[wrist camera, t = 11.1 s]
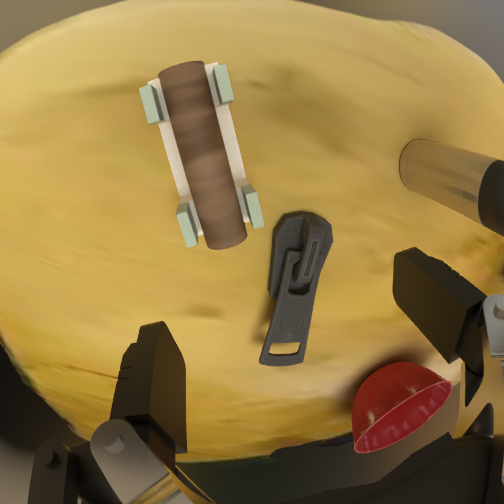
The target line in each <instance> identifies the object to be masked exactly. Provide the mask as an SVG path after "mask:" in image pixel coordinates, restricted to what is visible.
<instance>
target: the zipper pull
mask: <svg viewBox="0 0 504 504" xmlns="http://www.w3.org/2000/svg"><path fill="white" fill-rule="evenodd" d="M332 243H333V236H332V227H331V224H330V223H328V222H327V221H326V220H325V219H323V218H321V217H319V216H318V215H316V214H314V213H309V212H302V211H299V212H294V213H289V214H284V215H283V216H282V218H281V219H280V221H279V222H278V223H277V225H276V226H275V228H274V229H273V239H272V251H271V261H270V271H269V280H268V291H269V293H270V296H271V297H273V298H274V299H276V300H277V301H276V304H275V308H274V311H273V315H272V318H271V322H270V325H269V329H268V332H267V335H266V339H265V342H264V345H263V348H262V352H261V355H260V358H259V363H260V364H262V365H267V366H290V365H295V364H299V363H302V362H303V360H304V355H305V350H306V345H307V339H308V333H309V328H310V322H311V317H312V311H313V305H314V299H315V294H316V289H317V285H318V280H319V276H320V272H321V269H322V267H323V264H324V262H325V260H326V257H327V255H328V252H329V250H330V247H331V245H332ZM290 342H300V345H299V349H298V351H297V352H296V353H291V354H271V353H269V350H270V346H271V345H272V344H273V343H290Z"/></svg>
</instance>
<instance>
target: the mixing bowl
mask: <svg viewBox="0 0 504 504" xmlns="http://www.w3.org/2000/svg"><path fill="white" fill-rule="evenodd" d="M451 391H452V383H451V382H450V381H446V380H445V379H444V378H442V377H441V376H439V375H438V374H436V373H435V372H433V371H431V370H429V369H427V368H425V367H422V366H420V365H417V364H414V363H411V362H396V363H392V364H388V365H385V366H383V367H381V368H379V369H377V370H376V371H375V372H373V373H372V374H371V375H369V376H368V377H367V378H366V379H365V380H364V382H363V383H362V384H361V386H360V388H359V389H358V391H357V393H356V395H355V397H354V401H353V408H352V430H353V438H354V444H355V445H354V450H355V451H356V452H358V453H367V452H372V451H376V450H379V449H382V448H385V447H387V446H389V445H392V444H394V443H396V442H398V441H399V440H401V439H403V438H405V437H406V436H408V435H409V434H411V433H412V432H414V431H415V430H417V429H418V428H419V427H421V426H422V425H423V424H424V423H426V422H427V421H428V420H429V419H430V418H431V417H432V416H433V415H434V414H435V413H436V412H437V411H438V410H439V409H440V408H441V407H442V405H443V404H444V403H445V402H446V400H447V399H448V397H449V395H450V393H451Z"/></svg>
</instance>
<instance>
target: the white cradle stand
mask: <svg viewBox="0 0 504 504" xmlns="http://www.w3.org/2000/svg"><path fill="white" fill-rule="evenodd" d="M204 66H205V70H206V74H207V78H208V82H209V86H210V90H211V94H212V98H213V102H214V106H215V110H216V114H217V118H218V121H219V125H220V129H221V133H222V137H223V141H224V145H225V149H226V153H227V157H228V161H229V165H230V169H231V173H232V176H233V180H234V184H235V188H236V192H237V196H238V200H239V204H240V208H241V212H242V216H243V220H244V223H246V222H249V221H250V222H251V224H252V226H253V228H254V229H256V228H259V227H263V226H264V222H263V218H262V213H261V209H260V204H259V200H258V196H257V192H256V190H255V189H254V188H253V187H252V186H251V184H250V183H249V182H248V181H247V179H246V175H245V170H244V166H243V162H242V158H241V154H240V150H239V146H238V142H237V138H236V134H235V130H234V125H233V121H232V117H231V113H230V109H229V105H228V104H229V103H231V102H232V101H233V100H234V96H233V92H232V88H231V84H230V80H229V76H228V72H227V68H226V64H221V65H218V62H215V63H211V64H207V65H204ZM139 91H140V95H141V98H142V102H143V106H144V110H145V114H146V117H147V121H148V124H159V128H160V131H161V135H162V139H163V142H164V146H165V149H166V153H167V156H168V159H169V163H170V166H171V170H172V173H173V176H174V179H175V183H176V186H177V189H178V192H179V196H180V201H179V205H178V209H177V212H176V216H177V219H178V222H179V225H180V228H181V231H182V234H183V237H184V240H185V243H186V245H187V248H189V247H192V246H196V245H198V236H200V235H203V231H202V228H201V224H200V221H199V218H198V215H197V212H196V208H195V205H194V202H193V199H192V195H191V192H190V189H189V185H188V182H187V178H186V175H185V172H184V168H183V165H182V161H181V158H180V154H179V151H178V147H177V144H176V140H175V137H174V133H173V129H172V126H171V122H170V118H169V115H168V111H167V107H166V103H165V99H164V95H163V92H162V88H161V84H160V80H159V78H157V79H154V80H151V81H148V85H147V86H144V87H141V88H139Z"/></svg>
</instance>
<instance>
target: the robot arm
mask: <svg viewBox="0 0 504 504" xmlns="http://www.w3.org/2000/svg"><path fill="white" fill-rule="evenodd" d="M400 175H401V178H402V181H403V183H404V184H405V186H406V187H407V188H409V189H410V190H412V191H414V192H417V193H419V194H421V195H423V196H425V197H427V198H430V199H432V200H434V201H436V202H438V203H440V204H442V205H444V206H446V207H448V208H451V209H453V210H455V211H457V212H458V213H460V214H462V215H464V216H466V217H468V218H470V219H472V220H474V221H476V222H478V223H480V224H481V225H483V226H485V227H487V228H489V229H491V230H492V231H494V232H496V233H498V234H500V235H502V236H503V237H504V161H502V160H499V159H496V158H493V157H489V156H486V155H482V154H479V153H475V152H472V151H468V150H464V149H460V148H456V147H452V146H448V145H444V144H439V143H435V142H430V141H425V140H420V139H418V140H414V141H411V142H410V143H409V144H408V145H407V146H406V147H405V149H404V150H403V152H402V155H401V158H400ZM393 296H394V299H395V302H396V303H397V305H398V306H399V307H400V308H401V310H402V311H403V312H404V313H405V314H406V315H407V316H408V317H409V318H410V319H411V321H412V322H413V323H414V324H415V325H416V326H417V327H418V328H419V330H420V331H421V332H422V333H423V334H424V335H425V336H426V338H427V339H428V340H429V341H430V342H431V343H432V345H433V346H434V347H435V348H436V349H437V350H438V352H439V353H440V354H441V355H442V356H443V358H444V359H445V360H446V361H447V362H448V364H450V363H452V362H453V361H455V360H456V359H458V358H461V359H462V360H463V362H462V364H461V391H460V411H459V417H458V420H457V423H456V425H455V428H454V432H453V436H452V437H451V435H450V434H449V432H447V433H446V434H444V435H443V436H441V437H439V438H438V439H436V440H435V441H433V442H431V443H430V444H428V445H426V446H425V447H423V448H421V449H419V450H417V451H416V452H414V453H413V454H412V455H410V456H409V457H408V458H407V459H406V460H405V461H403V462H402V463H401V464H400V465H399V466H397V467H396V468H395V469H394V470H392V471H391V472H390V473H388V474H387V475H386V476H385V477H383V478H382V479H381V480H379V481H377V482H375V483H372V484H367V485H360V486H355V487H348V488H341V489H333V490H326V491H323V492H319V493H316V494H313V495H309V496H306V497H302V498H299V499H295V500H291V501H286V502H283V503H280V504H504V295H500V294H495V295H491V296H489V297H487V296H486V295H485V294H484V293H483V292H481V291H480V290H479V289H478V288H477V287H475V286H474V285H473V284H472V283H470V282H469V281H468V280H466V279H465V278H464V277H463V276H460V275H459V273H457V272H456V271H455V270H452V268H451V267H450V266H448V265H447V264H446V263H444V262H443V261H441V260H438V259H436V258H433V257H430V256H427V255H426V254H425V253H423V252H422V251H421V250H419V249H418V248H416V247H412V248H409V249H407V250H404V251H401V252H398V253H396V254H395V256H394V271H393ZM181 453H187V434H186V367H185V362H184V359H183V356H182V353H181V351H180V350H179V348H178V346H177V344H176V342H175V340H174V339H173V337H172V335H171V333H170V331H169V329H168V327H167V325H166V324H165V322H163V321H160V322H155V323H151V324H147V325H143V326H141V327H140V330H139V334H138V339H137V343H132V344H130V346H129V347H128V349H127V350H126V352H125V353H124V355H123V357H122V362H121V366H120V371H119V375H118V381H117V384H116V388H115V393H114V398H113V403H112V408H111V414H110V419H109V420H108V421H106V422H104V423H102V424H101V425H100V426H98V427H97V429H96V430H95V431H94V433H93V435H92V437H91V440H90V442H87V443H84V444H81V445H78V446H75V447H72V448H68V447H67V446H66V445H64V444H63V443H62V442H60V441H59V440H54V439H53V440H48V441H46V442H45V443H43V444H42V445H41V446H40V447H39V449H38V450H37V452H36V455H35V458H34V464H33V469H32V475H31V481H30V489H29V496H28V504H77V500H78V498H79V499H81V500H82V502H81V504H216V503H215V502H213V500H211V499H210V498H209V497H208V496H207V495H206V494H205V493H204V492H202V490H200V489H199V488H198V487H197V486H196V485H195V484H194V483H193V482H192V481H191V480H190V479H189V478H188V477H187V476H186V475H185V474H184V473H183V472H182V471H181V470H180V469H179V468H178V467H177V466H176V465H175V454H181Z"/></svg>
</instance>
